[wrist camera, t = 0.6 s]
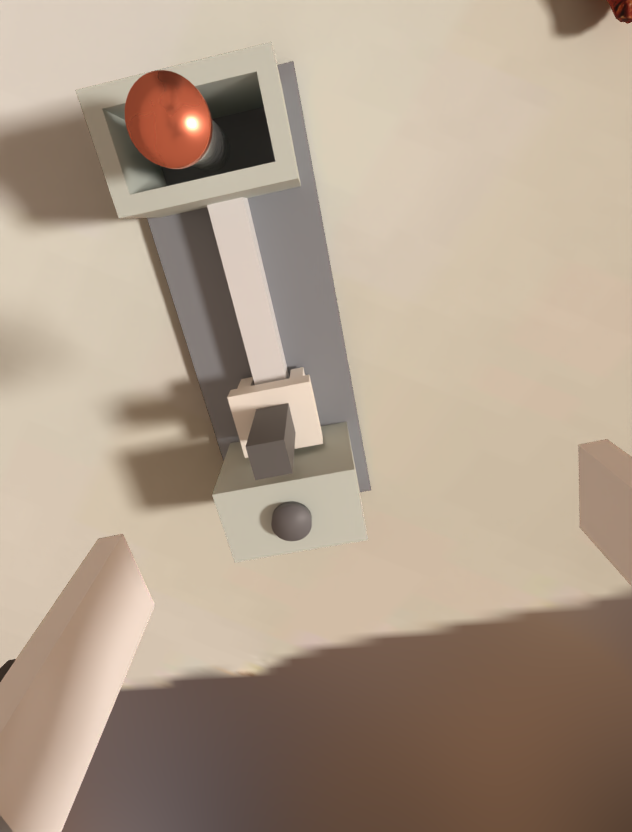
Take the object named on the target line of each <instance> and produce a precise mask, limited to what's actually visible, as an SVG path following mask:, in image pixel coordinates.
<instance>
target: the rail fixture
mask: <svg viewBox="0 0 632 832" xmlns="http://www.w3.org/2000/svg"><path fill="white" fill-rule="evenodd" d="M159 70H166V71H172V72H175V73H177V74H179V75H181V76H183V77H184V78H186V79H187V80H189V81H190V82H191V83H192V84H193V85H194V86H195V87H196V88H197V90H198V91H199V92H200V93H201V94H202V96H203V97H204V99H205V101H206V102H207V105H208V107H209V109H210V113H211V117H212V120H213V121H214V122H215V123H216V124H217V125H218V126H219V127H220V128H221V129H222V130H223V131H224V132H225V134H226V135H227V138H228V140H229V145H230V153H229V157H228V159H227V161H226V163H225V164H224V165H223V166H222V167H221V168H220V169H218V170H215V171H205V170H202V169H199V168H197V167H194V166H190V167H187V168H183V169H170V168H166V167H163V166H160V165H157V164H155V163H153V162H151V161H150V160H148V159H147V158H145V157H144V156H143V155H142V154H141V153H140V152H139V151H138V149H137V148H136V147H135V145H134V144H133V142H132V140H131V138H130V136H129V134H128V131H127V127H126V123H125V103H126V99H127V96H128V93H129V91H130V89H131V87H132V86H133V85H134V83H135V82H136V81H137V80H138V79H139V78H140V77H142V76H143V75H145V74H147V73H149V72H147V73H143V74H139V75H135V76H131V77H127V78H123V79H119V80H115V81H111V82H107V83H103V84H99V85H94V86H90V87H86V88H82V89H78V90H76V93H77V96H78V99H79V102H80V105H81V108H82V111H83V114H84V117H85V120H86V123H87V126H88V129H89V132H90V135H91V138H92V141H93V144H94V147H95V150H96V153H97V155H98V158H99V161H100V164H101V167H102V170H103V173H104V176H105V179H106V182H107V185H108V188H109V191H110V194H111V197H112V200H113V203H114V206H115V209H116V212H117V215H118V218H119V219H120V218H147V220H148V223H149V226H150V229H151V232H152V235H153V239H154V242H155V245H156V248H157V251H158V254H159V258H160V261H161V264H162V267H163V270H164V273H165V277H166V280H167V283H168V286H169V289H170V293H171V296H172V299H173V302H174V305H175V308H176V312H177V315H178V318H179V321H180V324H181V327H182V331H183V334H184V337H185V340H186V343H187V346H188V350H189V353H190V356H191V359H192V362H193V365H194V369H195V372H196V375H197V378H198V381H199V384H200V388H201V391H202V394H203V397H204V400H205V403H206V407H207V410H208V413H209V416H210V419H211V423H212V426H213V429H214V432H215V435H216V438H217V442H218V445H219V448H220V451H221V454H222V457H223V461H224V462H223V465H222V468H221V471H220V473H219V476H218V479H217V482H216V485H215V488H214V490H213V493H212V497H213V500H214V503H215V505H216V508H217V511H218V514H219V517H220V520H221V523H222V526H223V529H224V532H225V535H226V538H227V541H228V544H229V547H230V550H231V553H232V556H233V559H234V562H235V563H236V562H242V561H248V560H254V559H260V558H266V557H271V556H277V555H283V554H289V553H295V552H301V551H307V550H313V549H319V548H325V547H331V546H337V545H343V544H348V543H354V542H360V541H366V540H368V536H367V530H366V524H365V519H364V513H363V507H362V501H361V496H360V492H364V491H370V490H371V486H370V481H369V475H368V470H367V464H366V459H365V453H364V448H363V442H362V437H361V431H360V426H359V420H358V415H357V409H356V404H355V398H354V393H353V387H352V382H351V376H350V371H349V365H348V360H347V354H346V349H345V343H344V338H343V332H342V327H341V321H340V316H339V310H338V305H337V299H336V294H335V288H334V283H333V277H332V272H331V266H330V261H329V255H328V249H327V244H326V238H325V233H324V227H323V222H322V216H321V211H320V205H319V200H318V194H317V189H316V183H315V178H314V172H313V167H312V161H311V156H310V150H309V145H308V139H307V134H306V128H305V123H304V117H303V112H302V106H301V101H300V95H299V90H298V84H297V79H296V73H295V68H294V62H293V61H292V62H288V63H284V64H280V65H277V63H276V58H275V54H274V50H273V45H272V42H269V43H265V44H261V45H257V46H253V47H249V48H245V49H241V50H237V51H232V52H228V53H224V54H220V55H216V56H212V57H208V58H204V59H200V60H196V61H192V62H188V63H184V64H180V65H176V66H172V67H168V68H163V69H159ZM155 71H157V70H155ZM151 72H152V71H151ZM300 367H303V368H304V373H305V375H310V380H311V384H312V389H313V393H314V398H315V403H316V407H317V412H318V417H319V421H320V426H321V430H322V436H323V444H319V445H313V446H308V447H302V448H297V449H294V462H293V474H288V475H282V476H276V477H271V478H265V479H260V480H255V478H254V474H253V471H252V467H251V464H250V461H249V457H248V458H245V456H244V453H243V450H242V446H241V443H240V439H239V436H238V433H237V429H236V426H235V422H234V419H233V416H232V412H231V409H230V405H229V402H228V399H227V397H228V395H229V392H230V390H233V389H237V388H238V385H239V383H240V381H241V379H244V378H250V377H253V380H254V384H255V385H258V384H263V383H268V382H274V381H279V380H284V379H289V378H290V371H291V369H295V368H300Z"/></svg>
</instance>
